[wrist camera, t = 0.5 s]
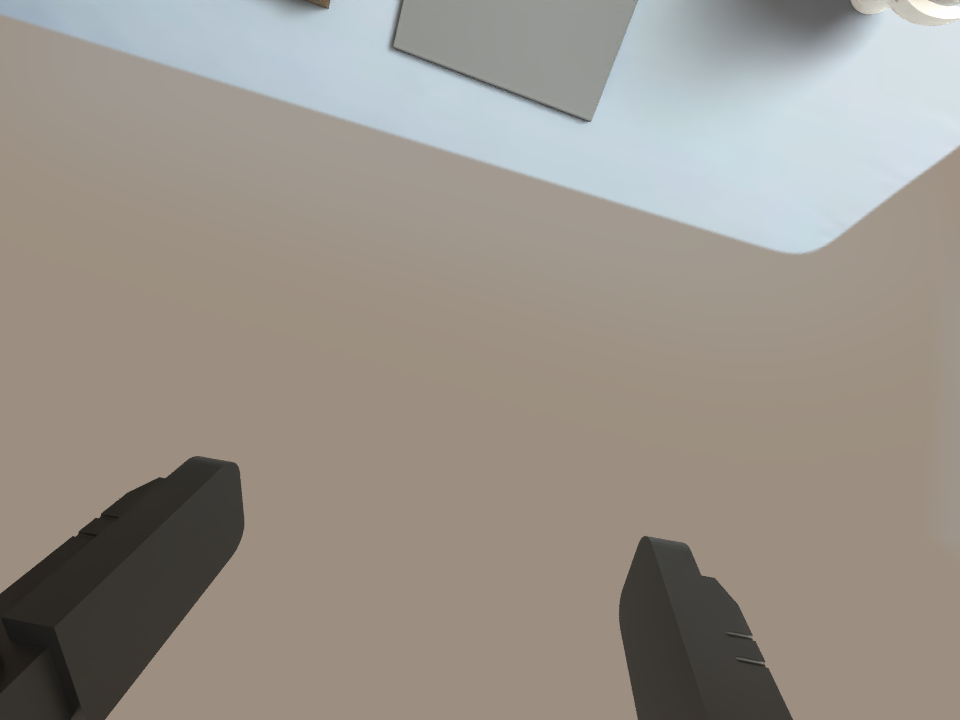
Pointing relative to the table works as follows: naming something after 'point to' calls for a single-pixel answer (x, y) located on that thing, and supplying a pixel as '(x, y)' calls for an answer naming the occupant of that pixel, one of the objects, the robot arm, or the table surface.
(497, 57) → the mat
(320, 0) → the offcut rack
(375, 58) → the table surface
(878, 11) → the white pipe fitting
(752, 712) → the robot arm
